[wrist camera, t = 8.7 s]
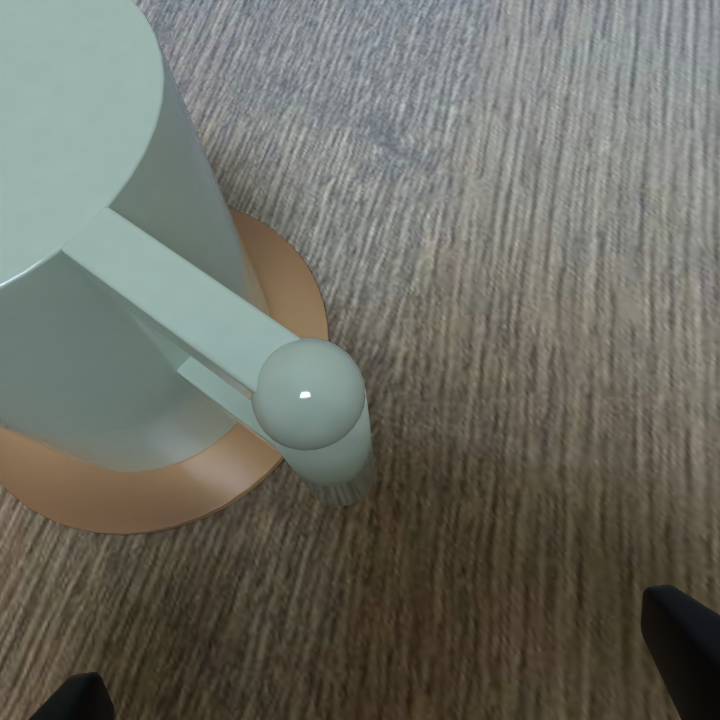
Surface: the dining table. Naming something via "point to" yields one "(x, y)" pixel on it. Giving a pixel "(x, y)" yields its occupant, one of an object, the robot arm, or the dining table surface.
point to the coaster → (186, 478)
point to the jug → (142, 271)
